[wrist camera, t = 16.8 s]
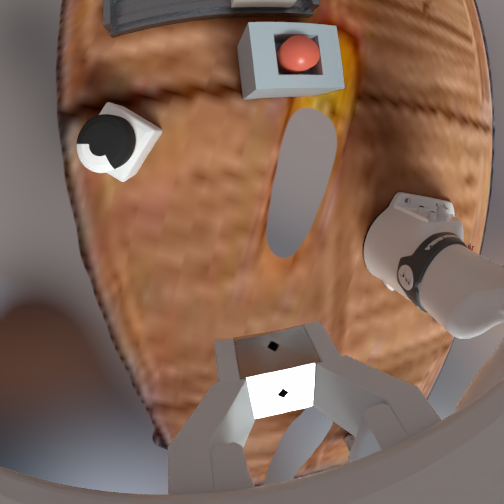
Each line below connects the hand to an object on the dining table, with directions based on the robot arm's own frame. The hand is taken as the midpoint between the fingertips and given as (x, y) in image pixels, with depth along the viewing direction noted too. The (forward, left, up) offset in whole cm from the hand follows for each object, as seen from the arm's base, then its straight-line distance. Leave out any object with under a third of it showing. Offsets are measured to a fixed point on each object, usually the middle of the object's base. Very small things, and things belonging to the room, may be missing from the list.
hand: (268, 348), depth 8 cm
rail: (-2, -27, -34) cm, 43 cm away
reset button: (-10, -14, -28) cm, 32 cm away
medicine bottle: (+11, -7, -34) cm, 37 cm away
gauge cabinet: (-10, -14, -34) cm, 38 cm away
